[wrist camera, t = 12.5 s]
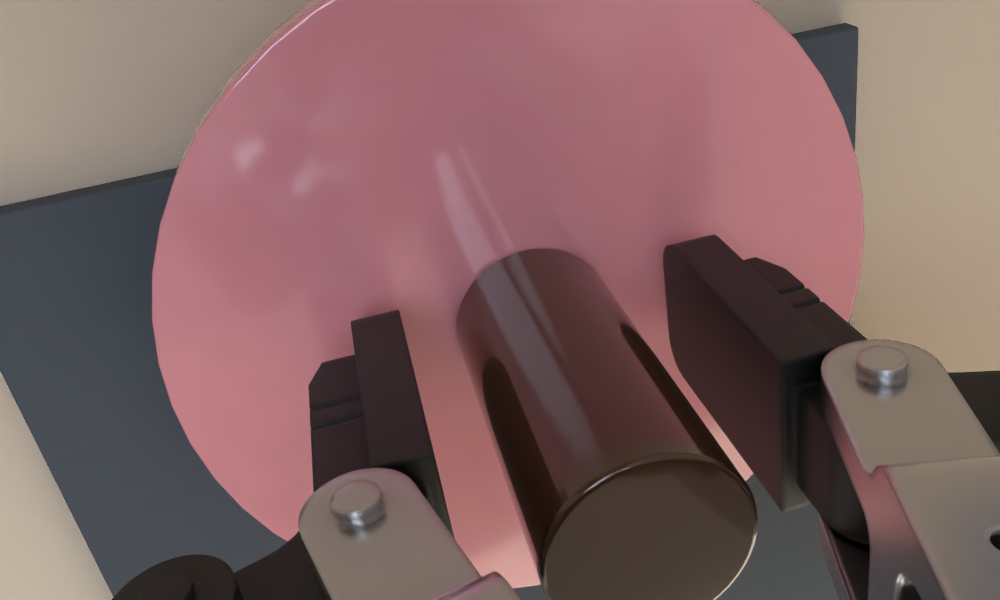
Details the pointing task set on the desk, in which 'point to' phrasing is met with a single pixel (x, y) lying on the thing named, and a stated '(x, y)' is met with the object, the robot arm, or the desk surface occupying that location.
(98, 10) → the desk surface
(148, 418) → the mat
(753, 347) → the robot arm
